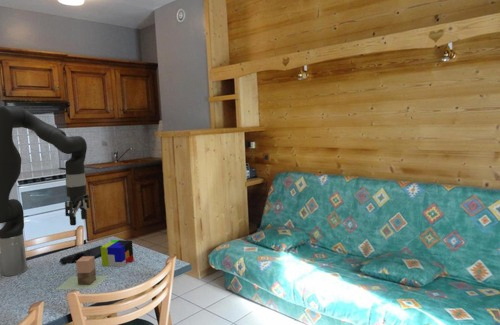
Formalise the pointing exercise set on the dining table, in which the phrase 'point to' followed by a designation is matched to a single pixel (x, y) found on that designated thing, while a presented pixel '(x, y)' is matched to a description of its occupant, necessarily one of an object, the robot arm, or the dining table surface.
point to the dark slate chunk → (81, 255)
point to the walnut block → (86, 278)
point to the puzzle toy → (117, 253)
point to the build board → (73, 284)
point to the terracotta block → (85, 264)
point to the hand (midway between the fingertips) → (78, 222)
